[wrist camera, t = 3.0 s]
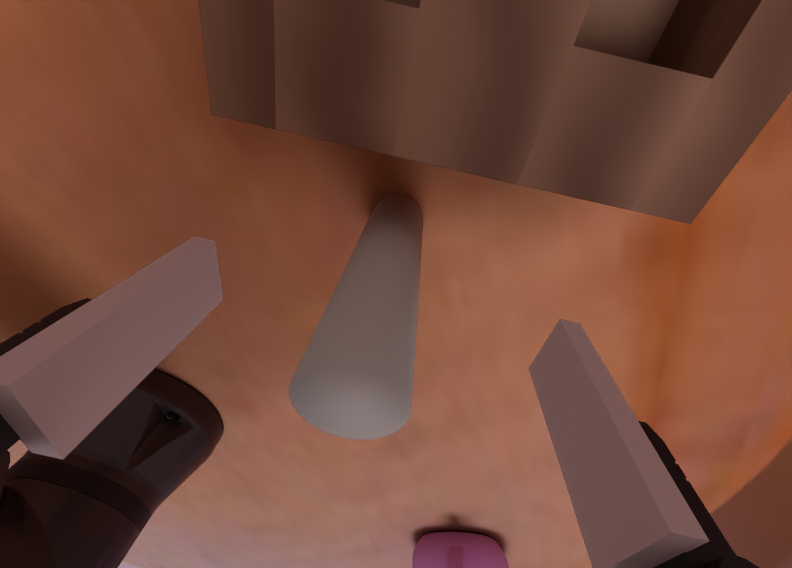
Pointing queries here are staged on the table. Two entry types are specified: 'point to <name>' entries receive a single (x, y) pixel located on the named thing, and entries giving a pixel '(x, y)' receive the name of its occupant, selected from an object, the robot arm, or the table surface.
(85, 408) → the robot arm
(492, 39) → the block
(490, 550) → the teapot
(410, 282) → the pin
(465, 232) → the table surface
